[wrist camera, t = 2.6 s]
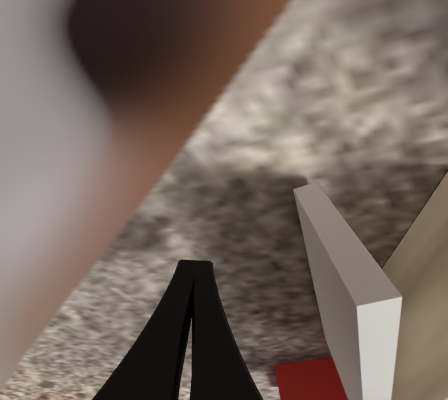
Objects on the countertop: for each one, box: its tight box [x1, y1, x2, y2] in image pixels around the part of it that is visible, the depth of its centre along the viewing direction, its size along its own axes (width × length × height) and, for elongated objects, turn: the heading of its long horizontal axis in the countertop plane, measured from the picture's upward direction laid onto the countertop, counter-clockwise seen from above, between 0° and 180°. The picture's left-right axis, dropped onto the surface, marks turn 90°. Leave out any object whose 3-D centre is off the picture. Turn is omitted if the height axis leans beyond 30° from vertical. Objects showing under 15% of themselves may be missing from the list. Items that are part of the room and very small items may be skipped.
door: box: [293, 182, 402, 400], centre depth 11 cm, size 1×13×6 cm, turn 19°
